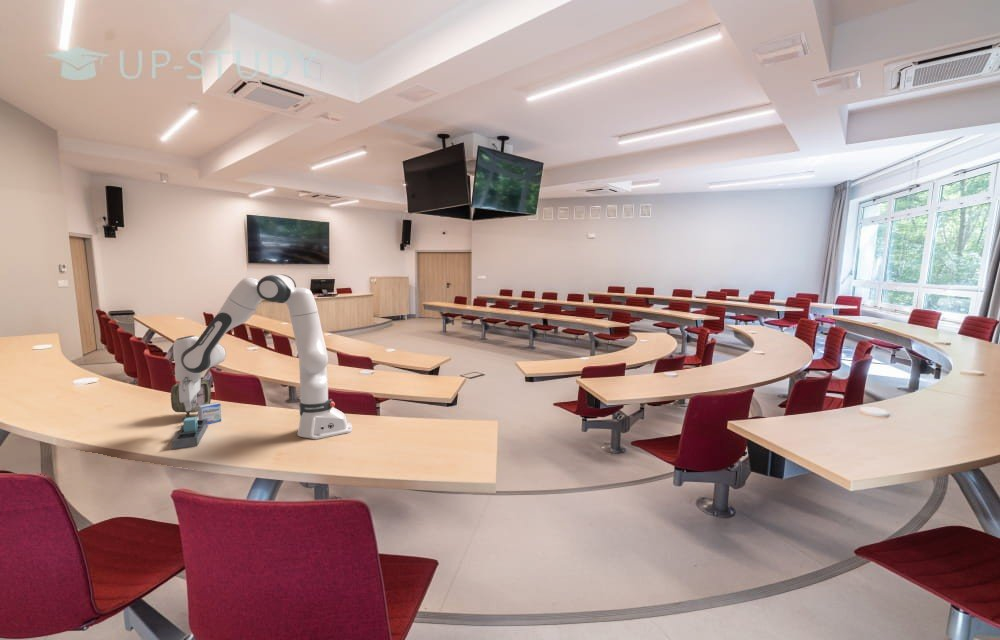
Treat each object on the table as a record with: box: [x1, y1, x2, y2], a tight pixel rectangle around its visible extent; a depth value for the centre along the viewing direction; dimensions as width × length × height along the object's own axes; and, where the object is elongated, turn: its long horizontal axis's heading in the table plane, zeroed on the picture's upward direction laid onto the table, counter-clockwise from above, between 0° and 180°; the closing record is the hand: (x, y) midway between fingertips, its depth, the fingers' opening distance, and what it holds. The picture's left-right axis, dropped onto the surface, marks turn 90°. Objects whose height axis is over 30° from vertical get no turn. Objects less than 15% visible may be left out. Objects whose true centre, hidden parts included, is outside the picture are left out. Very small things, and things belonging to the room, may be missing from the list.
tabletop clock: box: [170, 378, 212, 418], centre depth 198 cm, size 14×9×25 cm, turn 179°
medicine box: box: [197, 401, 222, 425], centre depth 192 cm, size 8×4×9 cm, turn 143°
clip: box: [182, 416, 198, 432], centre depth 174 cm, size 4×4×8 cm
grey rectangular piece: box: [171, 419, 209, 450], centre depth 174 cm, size 8×24×4 cm, turn 27°
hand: (191, 407), depth 174 cm, fingers open, 8 cm apart
